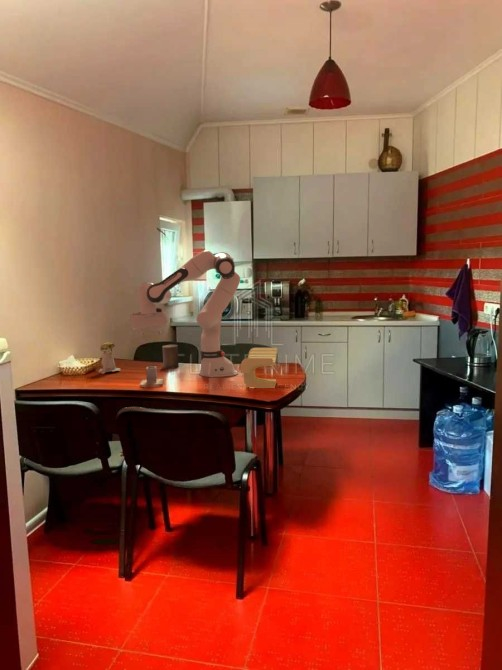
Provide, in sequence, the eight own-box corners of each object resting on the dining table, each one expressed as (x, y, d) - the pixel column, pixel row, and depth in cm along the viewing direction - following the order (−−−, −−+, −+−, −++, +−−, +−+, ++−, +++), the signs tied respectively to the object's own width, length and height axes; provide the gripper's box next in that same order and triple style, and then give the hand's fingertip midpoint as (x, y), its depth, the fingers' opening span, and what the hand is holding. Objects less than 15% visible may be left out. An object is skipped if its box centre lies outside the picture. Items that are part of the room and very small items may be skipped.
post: (163, 381, 286) (163, 370, 285) (162, 386, 274) (161, 374, 273) (142, 382, 285) (141, 370, 284) (139, 387, 273) (139, 375, 272)
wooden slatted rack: (249, 378, 288) (248, 347, 286) (277, 378, 286) (277, 347, 284) (241, 392, 259) (240, 358, 256) (272, 393, 257) (272, 358, 254)
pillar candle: (181, 366, 324) (180, 343, 322) (170, 369, 317) (168, 345, 315) (172, 365, 330) (170, 342, 328) (160, 367, 323) (158, 344, 321)
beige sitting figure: (122, 372, 312) (121, 342, 309) (101, 374, 306) (99, 344, 303) (118, 368, 322) (116, 340, 319) (97, 371, 316) (95, 342, 313)
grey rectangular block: (157, 380, 282) (156, 366, 281) (156, 382, 277) (155, 368, 276) (147, 380, 282) (146, 366, 280) (146, 383, 277) (146, 368, 275)
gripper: (129, 312, 284) (132, 337, 284) (166, 308, 287) (169, 333, 287) (130, 314, 291) (133, 338, 290) (166, 310, 294) (169, 333, 293)
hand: (151, 335), depth 288 cm, fingers open, 8 cm apart
